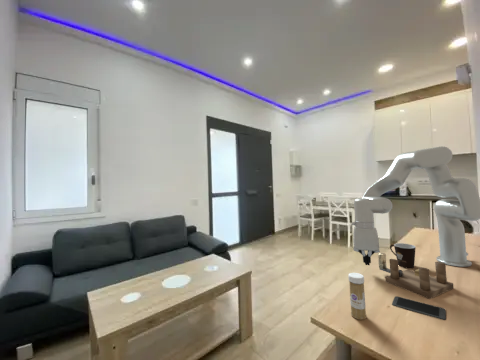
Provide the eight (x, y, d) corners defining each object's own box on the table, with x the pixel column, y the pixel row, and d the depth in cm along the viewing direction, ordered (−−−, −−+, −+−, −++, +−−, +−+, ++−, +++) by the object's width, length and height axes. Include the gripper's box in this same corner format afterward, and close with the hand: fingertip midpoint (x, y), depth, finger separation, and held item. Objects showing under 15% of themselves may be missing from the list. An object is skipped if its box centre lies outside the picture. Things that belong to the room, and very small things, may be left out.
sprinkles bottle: (349, 317, 71) (346, 275, 72) (352, 310, 75) (350, 271, 75) (365, 322, 69) (362, 279, 69) (368, 314, 72) (365, 274, 72)
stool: (408, 273, 100) (407, 252, 100) (453, 288, 85) (451, 263, 85) (385, 281, 94) (383, 259, 94) (429, 299, 79) (427, 272, 79)
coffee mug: (421, 269, 103) (419, 248, 103) (400, 269, 105) (399, 248, 105) (407, 260, 115) (406, 241, 115) (389, 260, 116) (388, 241, 116)
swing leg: (377, 269, 101) (376, 253, 101) (381, 267, 102) (380, 252, 103) (400, 276, 92) (398, 259, 92) (404, 275, 93) (403, 258, 93)
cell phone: (446, 322, 67) (445, 319, 67) (391, 306, 76) (391, 304, 76) (445, 310, 72) (445, 308, 72) (395, 297, 82) (394, 295, 82)
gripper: (347, 226, 101) (350, 265, 101) (385, 226, 95) (388, 268, 95) (346, 223, 108) (348, 260, 108) (381, 223, 102) (384, 262, 102)
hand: (367, 264), depth 101 cm, fingers closed
